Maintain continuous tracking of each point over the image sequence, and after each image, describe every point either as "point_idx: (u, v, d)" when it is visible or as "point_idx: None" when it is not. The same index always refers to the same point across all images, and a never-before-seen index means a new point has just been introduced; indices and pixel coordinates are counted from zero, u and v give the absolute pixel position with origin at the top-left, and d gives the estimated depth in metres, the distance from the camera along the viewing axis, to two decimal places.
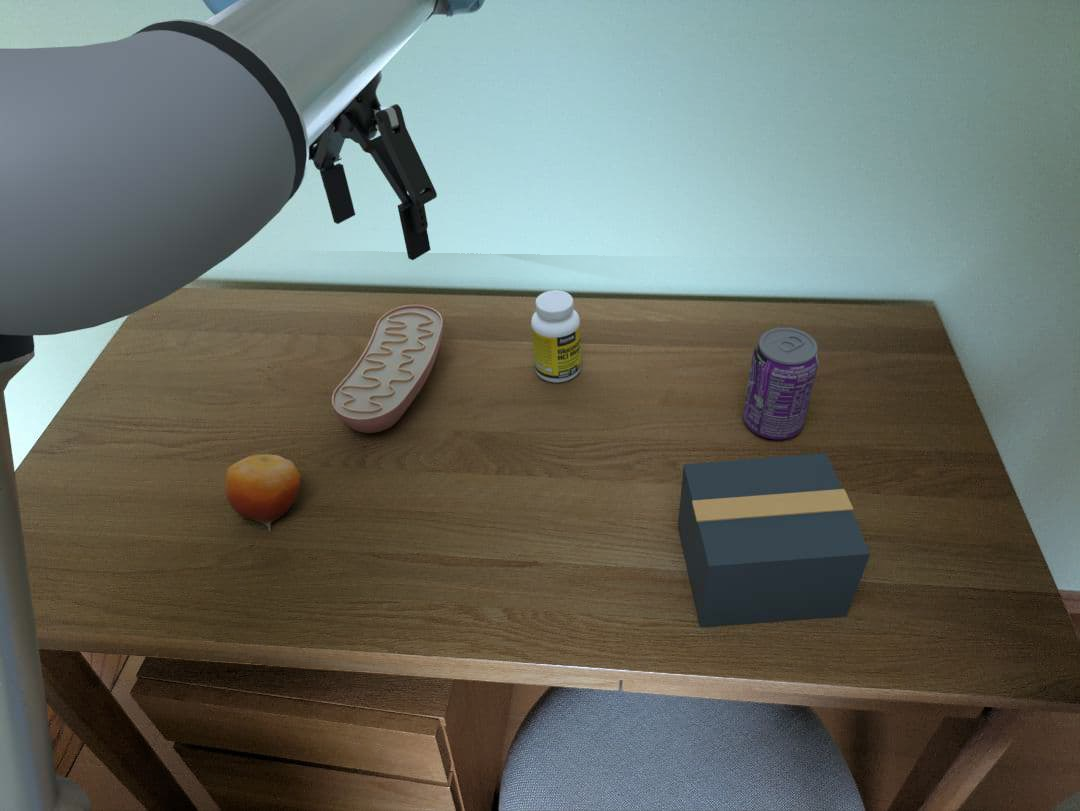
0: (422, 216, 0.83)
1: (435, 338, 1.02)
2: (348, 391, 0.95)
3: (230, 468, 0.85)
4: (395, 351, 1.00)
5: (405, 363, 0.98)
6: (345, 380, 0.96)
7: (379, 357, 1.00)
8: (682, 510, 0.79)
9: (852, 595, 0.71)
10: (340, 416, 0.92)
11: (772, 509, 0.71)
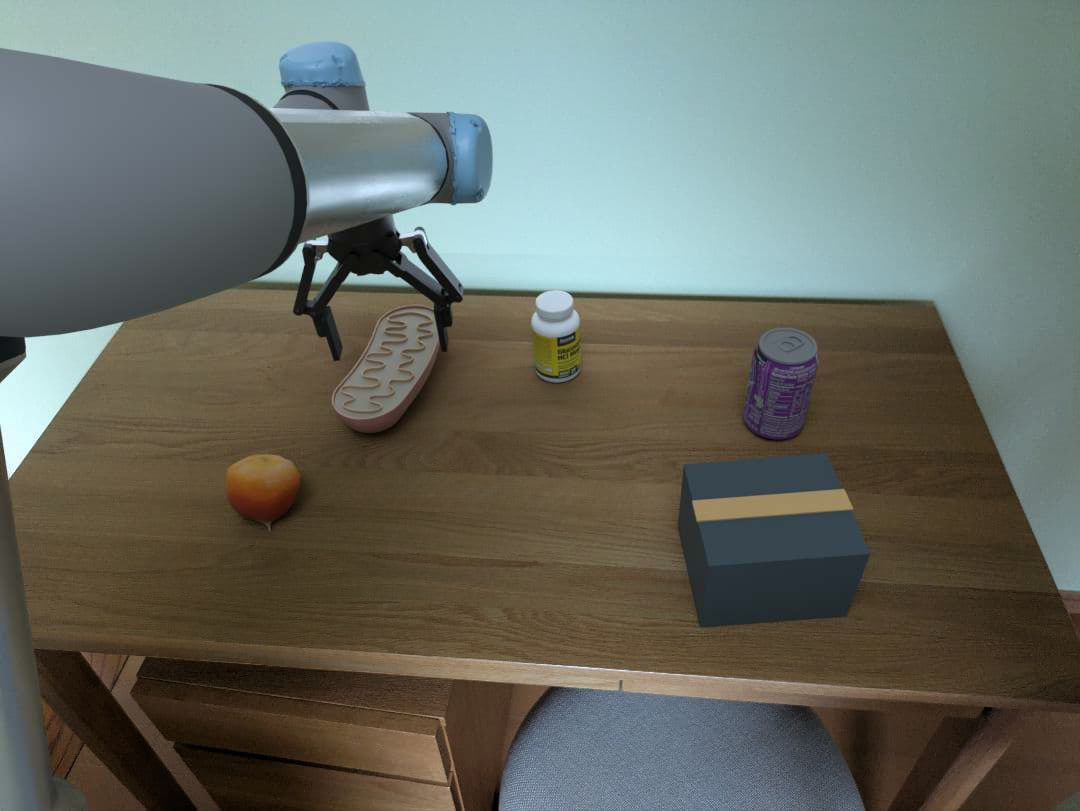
0: (451, 310, 0.95)
1: (435, 338, 1.02)
2: (348, 391, 0.95)
3: (230, 468, 0.85)
4: (395, 351, 1.00)
5: (405, 363, 0.98)
6: (345, 380, 0.96)
7: (379, 357, 1.00)
8: (682, 510, 0.79)
9: (852, 595, 0.71)
10: (340, 416, 0.92)
11: (772, 509, 0.71)
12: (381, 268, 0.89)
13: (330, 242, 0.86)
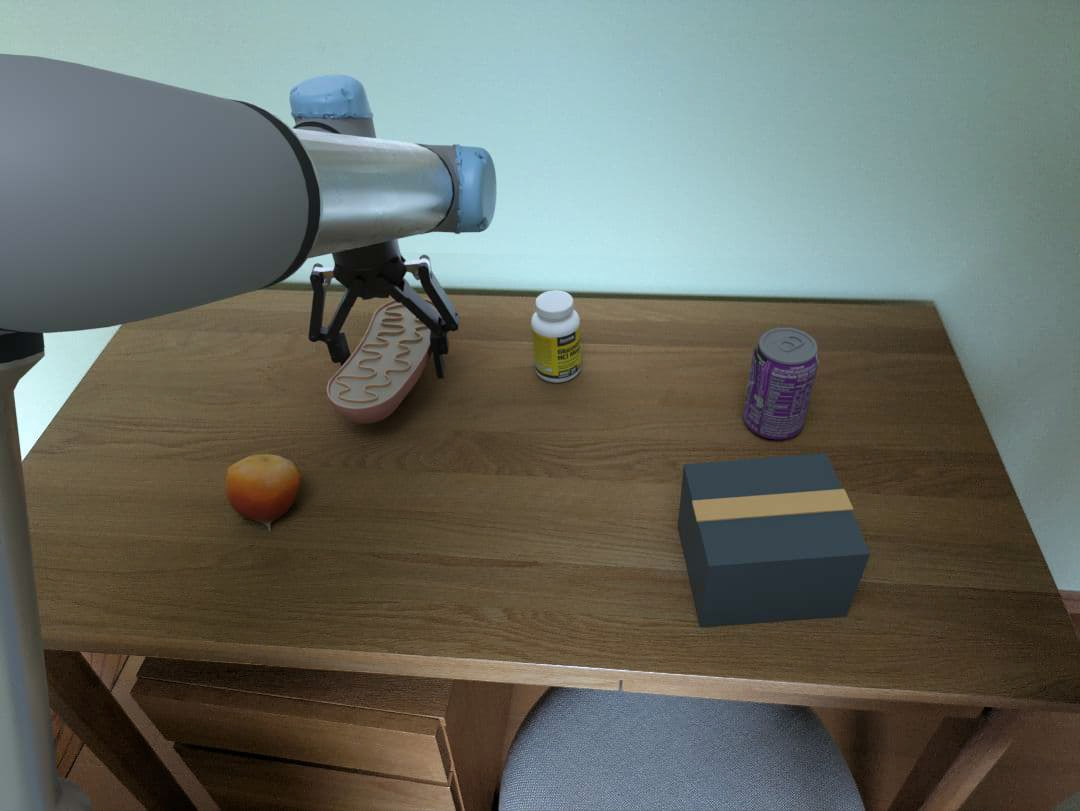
0: (447, 338, 0.97)
1: None
2: (343, 381, 0.94)
3: (230, 468, 0.85)
4: (391, 342, 0.99)
5: (402, 353, 0.96)
6: (340, 370, 0.95)
7: (375, 348, 0.98)
8: (682, 510, 0.79)
9: (852, 595, 0.71)
10: (335, 406, 0.91)
11: (772, 509, 0.71)
12: (386, 292, 0.91)
13: (336, 267, 0.88)
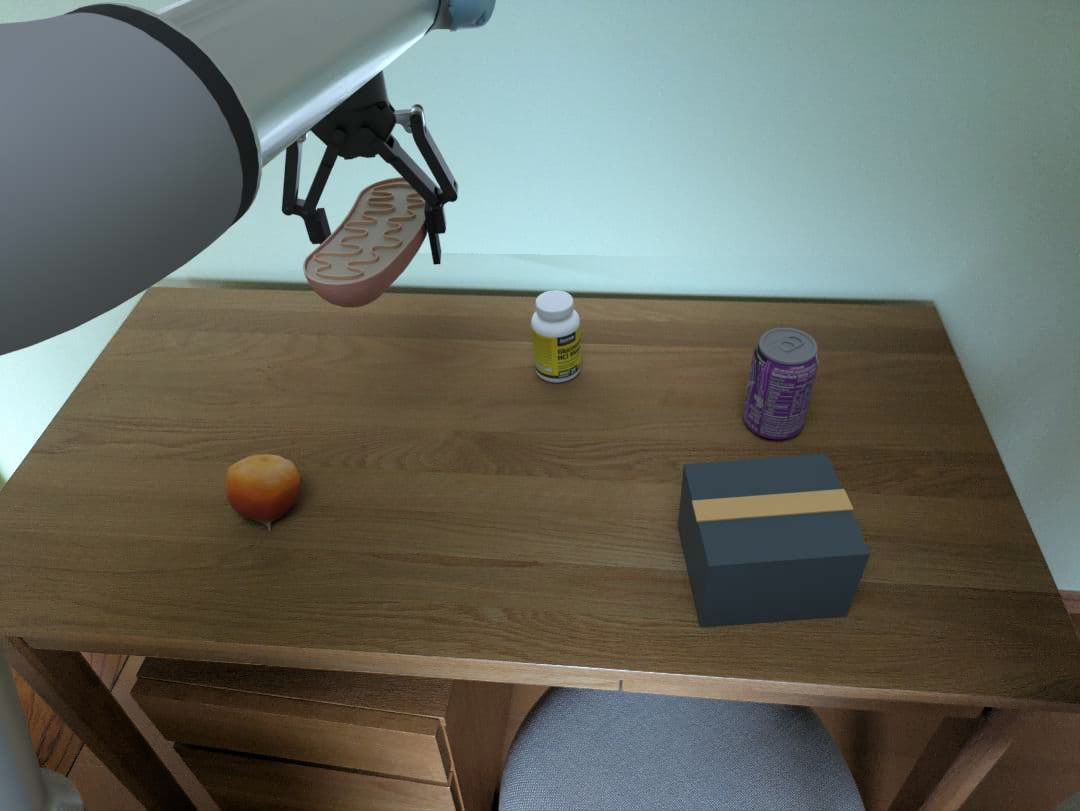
0: (444, 214, 0.84)
1: None
2: (323, 259, 0.80)
3: (230, 468, 0.85)
4: (379, 221, 0.85)
5: (391, 231, 0.83)
6: (320, 248, 0.81)
7: (361, 226, 0.84)
8: (682, 510, 0.79)
9: (852, 595, 0.71)
10: (313, 283, 0.77)
11: (772, 509, 0.71)
12: (372, 149, 0.77)
13: None
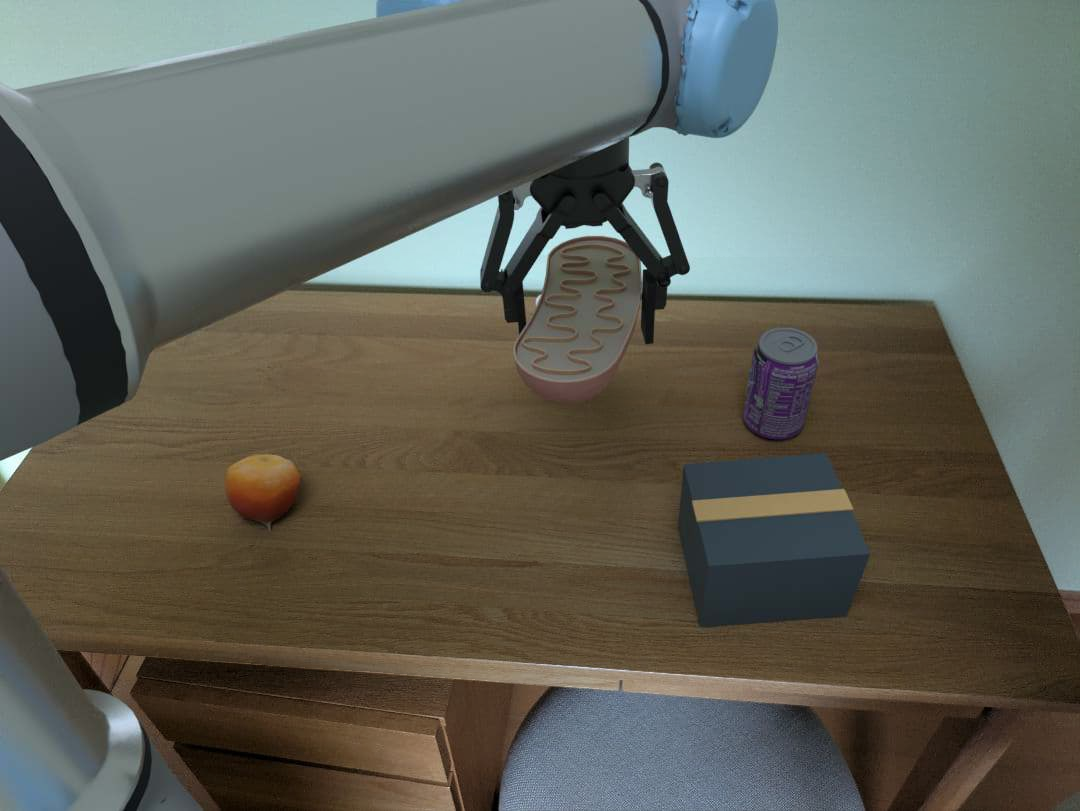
0: None
1: (635, 276, 0.73)
2: (533, 345, 0.67)
3: (230, 468, 0.85)
4: (583, 294, 0.72)
5: (605, 308, 0.70)
6: (525, 331, 0.68)
7: (564, 301, 0.71)
8: (682, 510, 0.79)
9: (852, 595, 0.71)
10: (531, 379, 0.63)
11: (772, 509, 0.71)
12: (601, 217, 0.64)
13: (538, 178, 0.61)
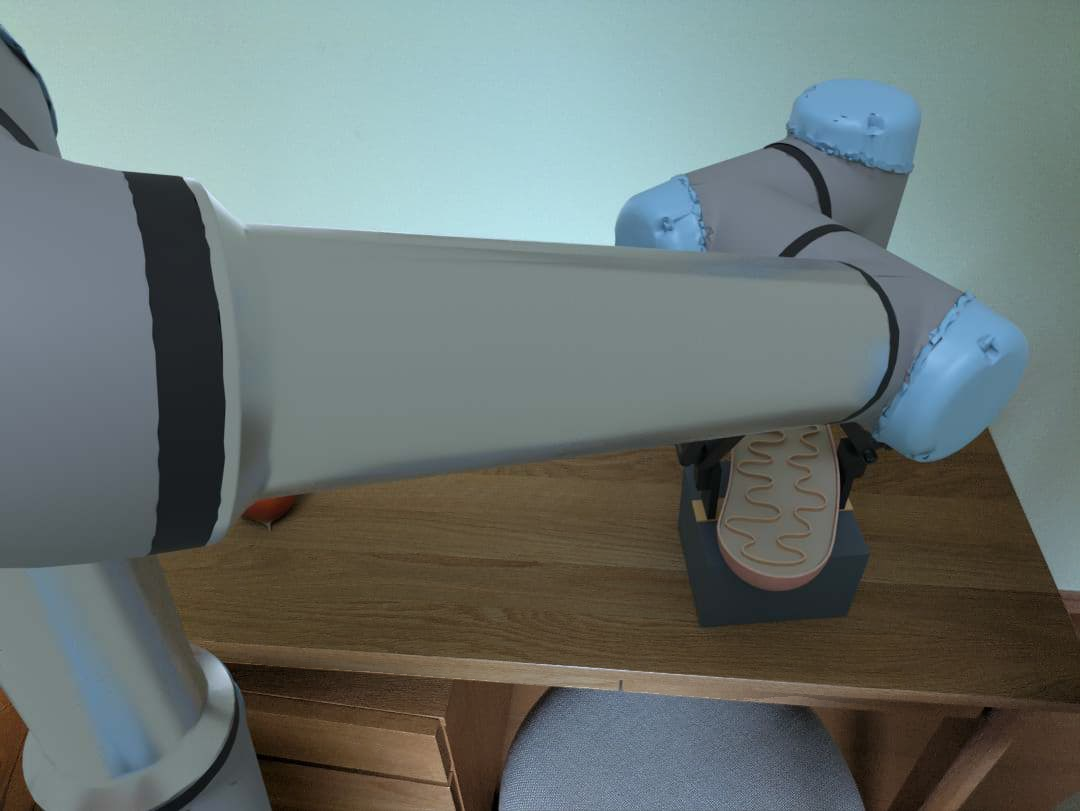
0: None
1: (825, 437, 0.71)
2: (736, 526, 0.64)
3: None
4: (775, 458, 0.69)
5: (803, 479, 0.67)
6: (725, 507, 0.65)
7: (756, 467, 0.69)
8: (682, 510, 0.79)
9: (852, 595, 0.71)
10: (743, 570, 0.61)
11: None
12: None
13: None
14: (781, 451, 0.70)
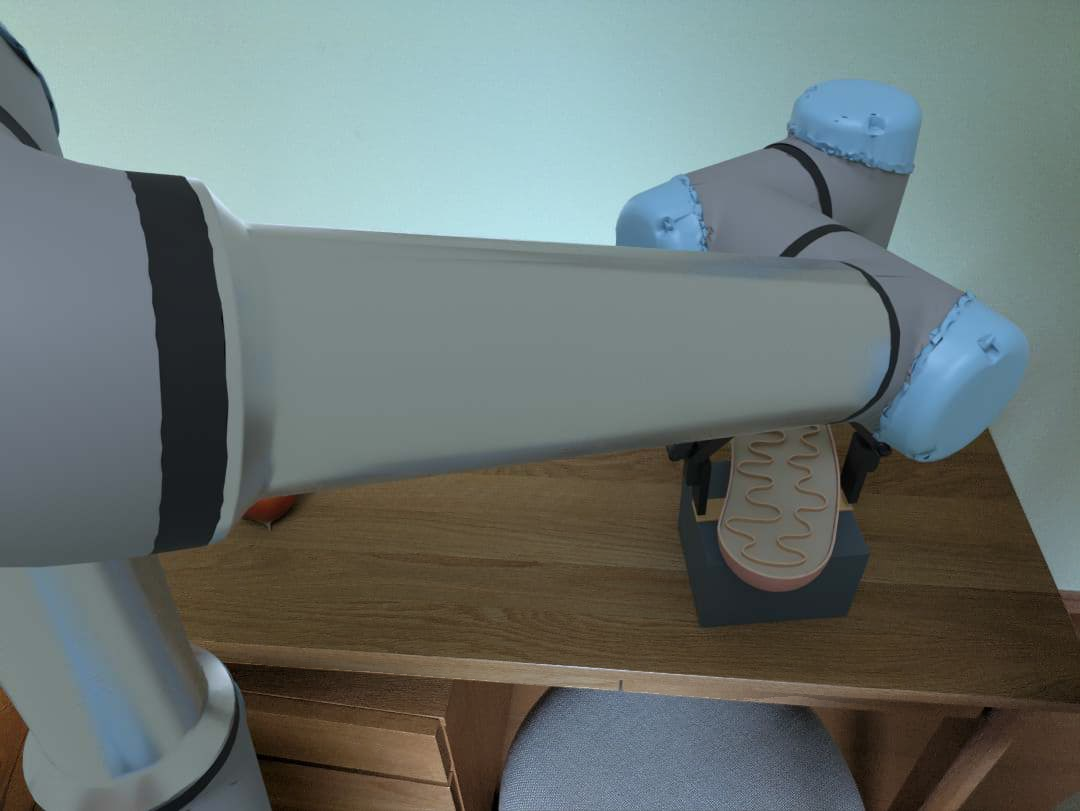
0: None
1: (825, 437, 0.71)
2: (737, 526, 0.64)
3: None
4: (775, 459, 0.69)
5: (803, 479, 0.67)
6: (725, 508, 0.65)
7: (756, 468, 0.69)
8: (682, 510, 0.79)
9: (852, 595, 0.71)
10: (744, 571, 0.61)
11: None
12: None
13: None
14: (781, 451, 0.70)
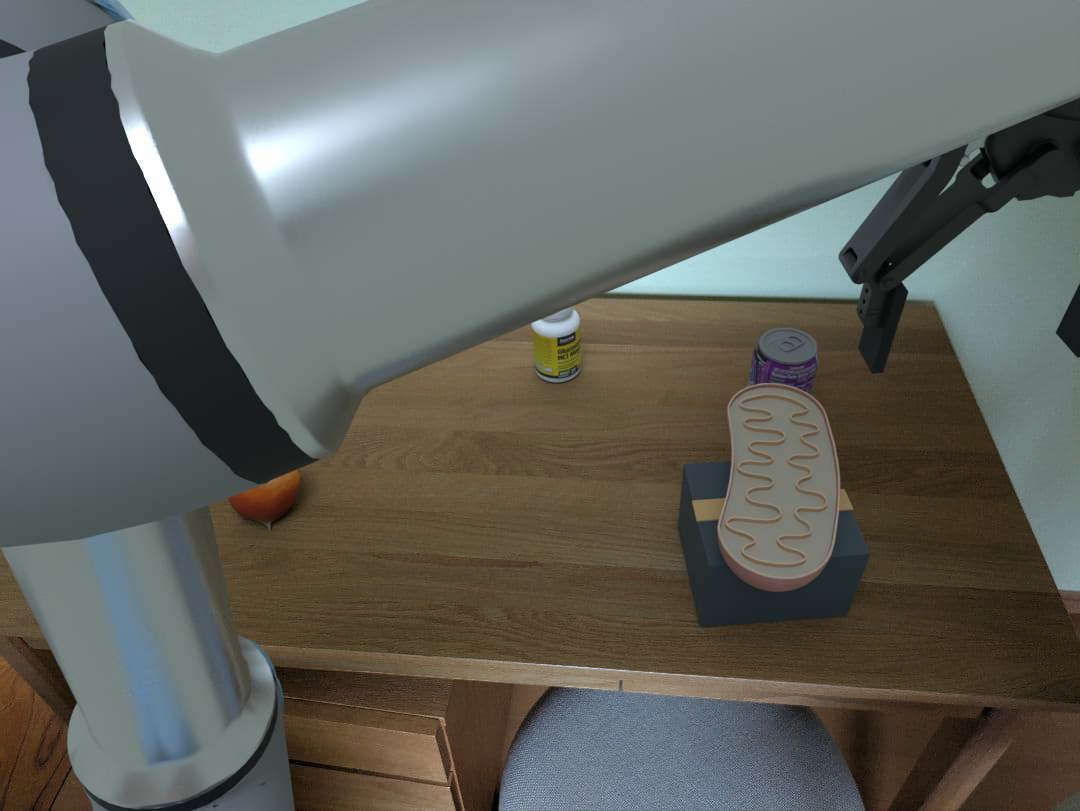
0: None
1: (825, 437, 0.71)
2: (737, 526, 0.64)
3: None
4: (775, 459, 0.69)
5: (803, 479, 0.67)
6: (725, 508, 0.65)
7: (756, 468, 0.69)
8: (682, 510, 0.79)
9: (852, 595, 0.71)
10: (744, 571, 0.61)
11: None
12: (1078, 183, 0.43)
13: None
14: (781, 451, 0.70)
